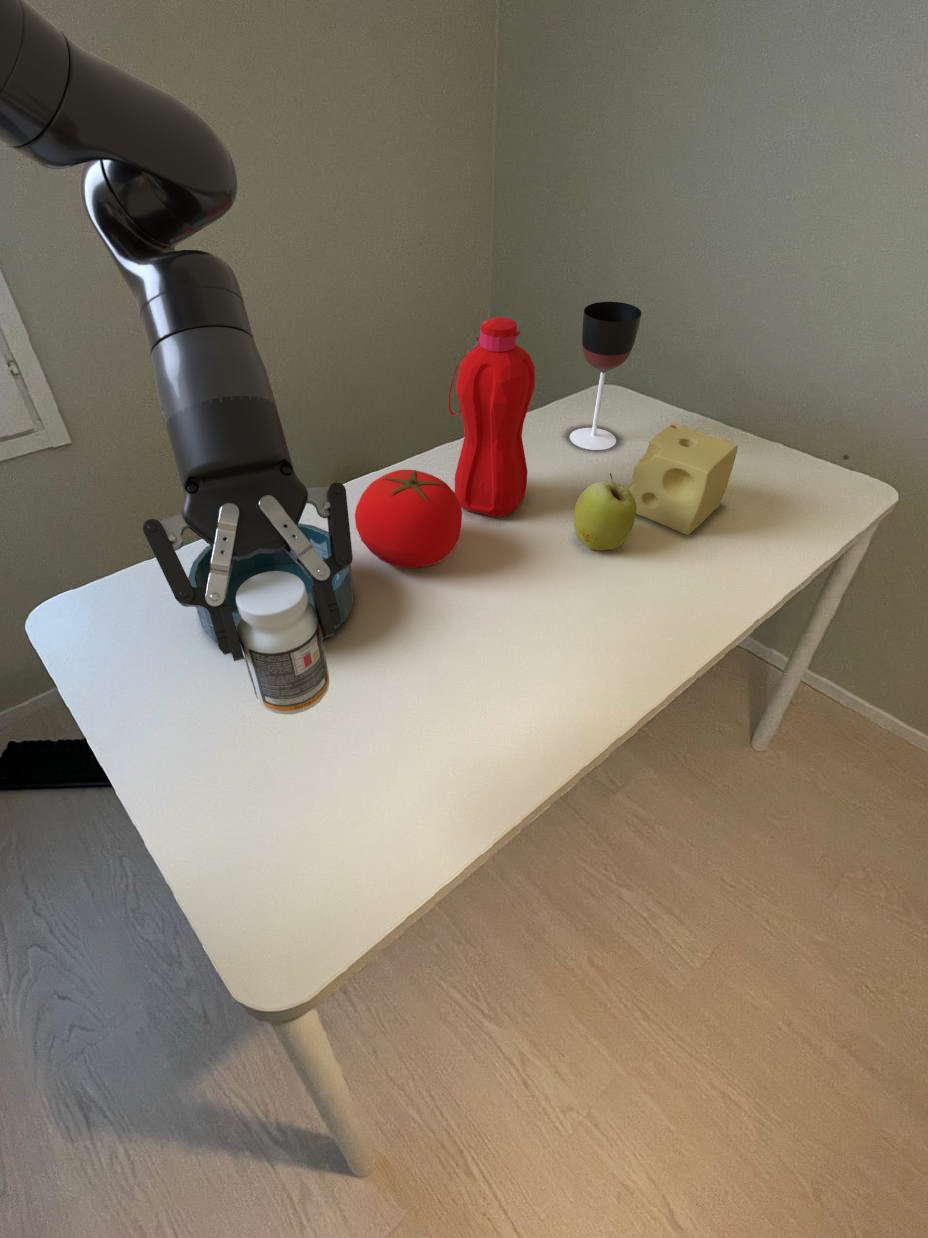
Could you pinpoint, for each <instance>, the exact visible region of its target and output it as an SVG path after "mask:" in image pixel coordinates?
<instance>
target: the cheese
mask: <svg viewBox="0 0 928 1238" xmlns="http://www.w3.org/2000/svg"><path fill="white" fill-rule="evenodd" d="M738 447H739V445H738V444H737V443H735V442H732V441H730V440H726V439H723V438H720V437H717V436H713V435H710V434H707V433H704V432H700V431H697V430H695V429H692V428H690V427H687V426H685V425H681V424H678V423H676V422H672V423H670V424H669V425H668V426H666V427H665V428H663V429H662V430H661V431H659V432H658V433H657V434H656V435H654V436H653V437H652V438H651V439H650V440H649V441H648V445H647V449H646V451H645V454H644V455H643V456H642V457H641V458H640V459H639V460H638V461H637V462H636V463H635V464H634V468H633V471H632V477H631V478H632V479H633V483H632V484H631V486H630V487H629V488H627V489H628V490H629V491H630V492H631V493H632V495H633V497H634V500H635V503H636V515H638V516H641V517H644V518H646V519H648V520H651V521H654V522H656V523H658V524H661V525H663V526H665V527H667V528H670V529H672V530H673V531H676V532H678V533H681V534H683V535H686V536H689V535H690V534H692V532H693V531H695V530H696V529H697V528H698V527H699V526H700V525H701V524H703V522H704V521H705V520H706V519H707V518H708V517H709V516H710V515H711V514H712V513H713V512H714V511H715V510H716V509H717V508H719V507H720V505H721V503H722V500H723V498H724V495H725V493H726V490H727V487H728V484H729V481H730V477H731V474H732V471H733V468H734V465H735V461H736V457H737V453H738Z"/></svg>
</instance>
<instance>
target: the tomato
mask: <svg viewBox="0 0 928 1238" xmlns="http://www.w3.org/2000/svg"><path fill="white" fill-rule="evenodd" d="M462 520H463V511H462V508H461V506H460V503H459V501H458V499H457V497H456V495H455V491H454V490H453V489H452V487H450V486H449V485H448V484H447V482H446V481H444V480H442V479H441V478H439V477H437V476H435V475H433V474H430V473H427V472H424V471H420V470H416V469H397V470H393V471H391V472H388V473H386V474H383V475H382V476H380V477H378V478H376V479H375V480H373V481H372V482H370V484H369V485H368V486H367V487H366V489H365V490H364V491H363V492H362V494H361V496H360V498H359V500H358V502H357V504H356V507H355V512H354V522H355V528H356V530H357V533H358V535H359V539H360V540H361V542H362V543H363V544H364V546H365V547H366V548H367V549H368V550H369V552H370V553H372V554H373V555H374V556H375V557H377V558H378V559H379V560H381V561H382V562H383V563H386V564H388V565H391V566H394V567H399V568H406V569H407V568H408V569H418V568H419V569H421V568H425V567H426V568H427V567H429V566H432V565H435V564H438V563H439V562H441V561H443V560H444V559H445V558H447V556H448V555H450V554H451V553H452V552H453V551H454V549H455V548H456V546H457V544H458V542H459V540H460V535H461V530H462V526H463V525H462V524H463V523H462V522H463V521H462Z"/></svg>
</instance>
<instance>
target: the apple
mask: <svg viewBox="0 0 928 1238" xmlns="http://www.w3.org/2000/svg"><path fill="white" fill-rule="evenodd" d="M609 476H610V479H611V481H598V482H595V483H591V484H590V485H588V486H587V487H586V488H585V489H584V490H583V491H582V492H581V494H579V497H578V499H577V501H576V503H575V506H574V511H573V512H574V513H573V527H574V531H575V534H576V536H577V538H578V539H579V541H580V542H581V543H582V544H583V545H584V547H586V548H587V549H589V550H592V551H607V550H615V549H617V548H619V547H620V546H621V545H622V544H623V543H624V542H625V541H626V540H627V538H628V537H629V535H630V533H631V532H632V530H633V527H634V524H635V520H636V516H637V514H636V503H635V500H634V497H633V495H632V493H631V492H630V491H629V490H628V489H629V488H627V487H626V486H625V485H622V484H620V483H616V482H613V477H612V476H613V475H612V473H609Z"/></svg>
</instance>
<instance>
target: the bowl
mask: <svg viewBox="0 0 928 1238" xmlns="http://www.w3.org/2000/svg"><path fill="white" fill-rule="evenodd" d="M297 527H298V528H299V529H300V531H301V532H302V533H303V534H304V536H305V537H306V538H307V539H308V540H309V542H310V543H311V545H312V547H313V548H314V550H315V551H316V552H317V553H318V555H319V556H320V557H321V558H322V560H323V561H324V560H326V559H327V558H329V557H330V556H331V551H330V541H329V531H328V530H325V529H323V528H320V527H318V526H314V525H312V524H307V523H300V522H299V523H298V526H297ZM212 554H213V547H212V546H211V545H210V544H208V545H207V546H206V547H204V548H203V550H202V551H201V552H200V553H199V554H198V556H197V557H196V558H195V559H194V560H193V561H192V564H191V567H190V570H189V574H188V576H187V577H188V579H189V581H190V583H191V586H192V587H199V588H207V584H208V579H209V573H210V565H211V559H212ZM270 571H283V572H288V573H292V574H294V575H296V576H298V577H299V578H300V579H301V580H302V581H303V583H304V585H305V588H306V592H307V597H308V602H310V603H311V604H312V606H313V607H314V608H315V606H314V602H313V598H312V595H311V591H310V588H311V586H312V583H311V580H310V579H309V577H308V576H307V575H306V574H305V573H304V571H303V570H302V569H301V568H300V567H299V565H298V564H297V563H295V562H294V561H293V560H292V558H291V557H290V556H289V555H288V554H287V552H286V551H285V550H284V549H282V551H280V552H276V553H271V554H269V553H259V554H256V555H255V556H253V557H251V558H249V559H245V560H240V561H237V559H234V560H233V565H232V571H231V576H230V580H229V585H228V591H227V597H226V603H227V605H230V608H231V611H232V615H233V619H234V622H235V626H236V630H237V627H238V622H239V619H240V617H241V616H240V615H239V612H238V608H237V603H236V593H237V590H238V589H239V587H240V586H241V585H242V584H243V583H244V582H245V581H246V580H248V579H249V578H251V577H253V576H255V575H258V574H261V573H265V572H270ZM332 586H333V589H334V593H335V597H336V600H337V604H338V607H339V611H340V615H341V621H340V625H338V626H334V628H335V631H336V630H337V629H338V628H339V627H341V625H342V624H343V623H345V622H346V620H347V618H348V616H349V614H350V613H351V610H352V609H353V606H354V583H353V576H352V566H351V564H350V565H348V567H347V568H346V569H345V570H342V571H340V572H339V573H337V574H336V575H334V576H333V578H332ZM195 609H196V612H197V616H198V619H199V621H200V625H201V628H202V629H203V631H204V632H205V633H206V634H207V635H208V637H210V638H211V640H212V641H213V642H214V643H217V644H218V642H217V639H216V635H215V631H214V628H213V624H212V620H211V617H210V613H209V612H208V611H207V610H206V609H204V608H201V607H195ZM315 610H316V609H315ZM320 630H321V627H320ZM237 633H238V632H237ZM321 636H322V640H324V639H326V638H327V637H325V638H324V637H323V634H322V631H321Z"/></svg>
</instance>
